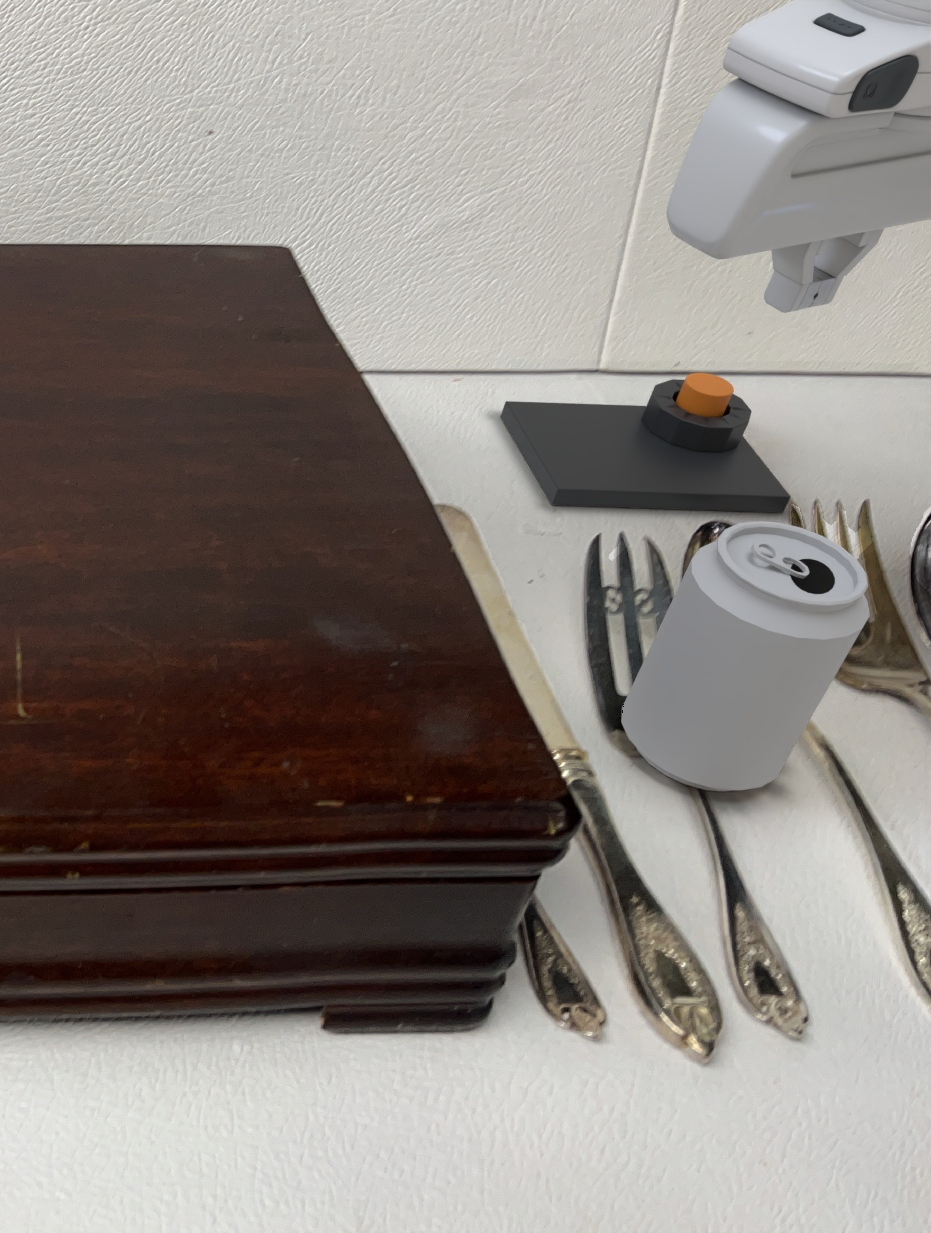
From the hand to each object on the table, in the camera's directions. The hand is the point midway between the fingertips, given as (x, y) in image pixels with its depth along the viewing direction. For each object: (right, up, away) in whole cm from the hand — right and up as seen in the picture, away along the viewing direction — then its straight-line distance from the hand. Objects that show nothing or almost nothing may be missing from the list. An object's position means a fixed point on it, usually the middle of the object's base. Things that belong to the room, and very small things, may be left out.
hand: (794, 304), depth 83 cm
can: (-7, -23, -4) cm, 24 cm away
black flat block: (0, -7, +16) cm, 18 cm away
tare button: (+4, -3, +17) cm, 18 cm away
